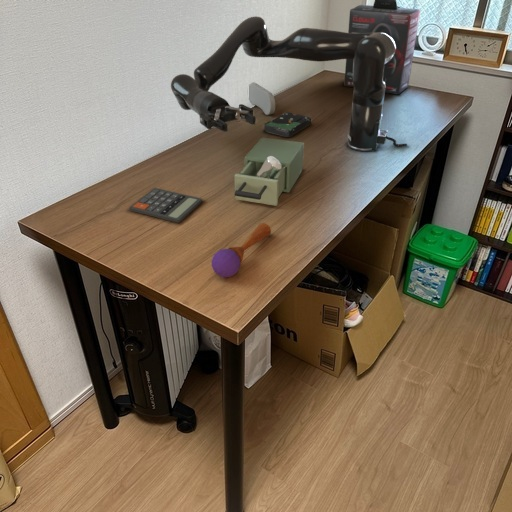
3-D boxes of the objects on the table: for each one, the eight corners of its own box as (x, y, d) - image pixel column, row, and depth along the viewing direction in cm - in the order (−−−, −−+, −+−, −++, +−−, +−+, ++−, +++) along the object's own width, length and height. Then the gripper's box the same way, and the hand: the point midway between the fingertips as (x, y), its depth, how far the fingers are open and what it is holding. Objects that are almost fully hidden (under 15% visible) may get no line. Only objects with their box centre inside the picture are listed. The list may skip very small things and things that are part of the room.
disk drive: (286, 119, 177) (263, 131, 167) (286, 111, 176) (263, 123, 166) (311, 124, 173) (289, 138, 163) (311, 117, 171) (289, 130, 161)
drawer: (269, 218, 121) (269, 193, 117) (226, 210, 124) (224, 186, 120) (290, 183, 135) (291, 160, 131) (252, 177, 139) (251, 155, 135)
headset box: (342, 86, 207) (349, -2, 187) (353, 78, 215) (362, -7, 196) (398, 95, 196) (413, 3, 177) (408, 87, 204) (423, -2, 185)
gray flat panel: (275, 116, 179) (276, 94, 174) (270, 118, 178) (270, 95, 173) (252, 101, 193) (252, 79, 188) (247, 102, 192) (247, 80, 187)
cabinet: (288, 192, 133) (289, 163, 128) (245, 185, 136) (244, 157, 131) (302, 170, 144) (303, 142, 139) (261, 164, 147) (261, 137, 142)
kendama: (278, 224, 113) (232, 265, 98) (272, 244, 116) (227, 287, 101) (256, 213, 115) (208, 252, 100) (251, 234, 118) (204, 274, 103)
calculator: (154, 187, 134) (202, 198, 129) (155, 190, 135) (202, 201, 129) (128, 207, 126) (178, 219, 120) (129, 210, 126) (178, 222, 121)
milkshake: (261, 195, 128) (286, 166, 124) (246, 181, 128) (270, 152, 124) (265, 191, 132) (289, 163, 128) (250, 178, 132) (274, 150, 128)
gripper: (187, 98, 135) (215, 116, 124) (231, 89, 141) (262, 105, 130) (189, 125, 139) (217, 144, 128) (233, 114, 145) (263, 132, 134)
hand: (240, 124), depth 129 cm, fingers open, 8 cm apart
